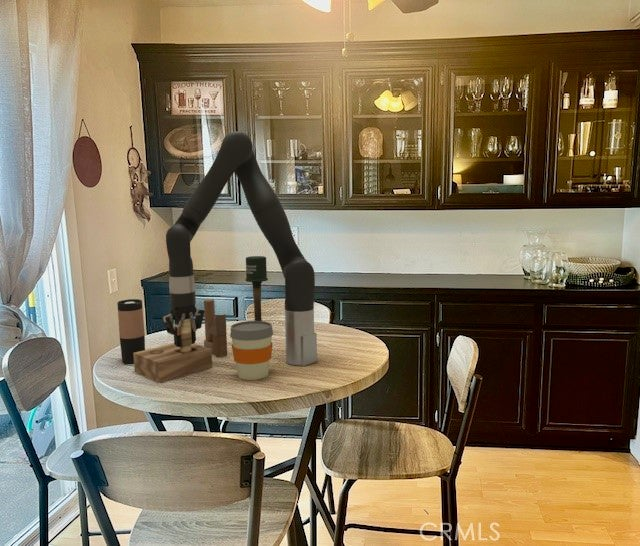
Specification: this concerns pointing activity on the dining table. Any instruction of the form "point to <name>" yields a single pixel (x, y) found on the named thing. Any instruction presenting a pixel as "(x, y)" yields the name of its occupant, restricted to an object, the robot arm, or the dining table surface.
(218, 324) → the wooden block
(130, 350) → the travel mug
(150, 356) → the seat block
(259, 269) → the potato masher grenade
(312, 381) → the dining table surface
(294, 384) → the dining table surface
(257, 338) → the reusable coffee cup
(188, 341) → the peg
